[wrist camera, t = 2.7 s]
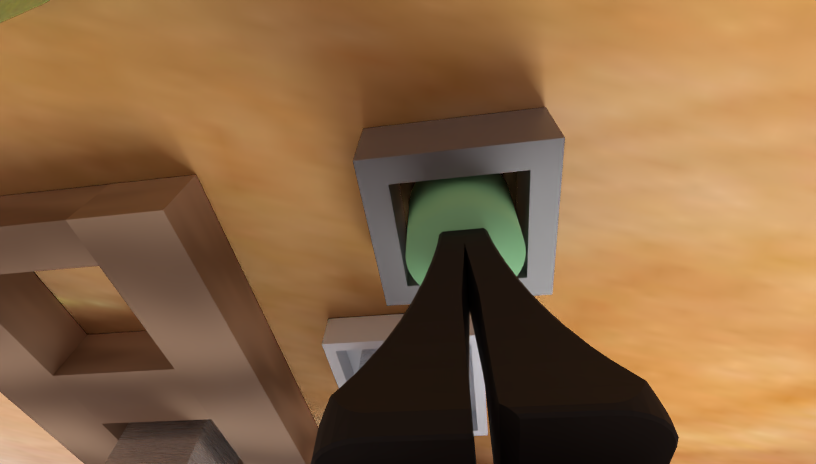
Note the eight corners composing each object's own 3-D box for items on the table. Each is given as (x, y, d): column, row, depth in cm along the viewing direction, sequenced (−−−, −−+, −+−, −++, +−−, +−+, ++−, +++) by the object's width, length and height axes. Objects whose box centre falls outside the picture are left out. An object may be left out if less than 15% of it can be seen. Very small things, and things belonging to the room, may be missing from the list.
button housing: (538, 252, 17) (552, 294, 15) (391, 264, 18) (386, 305, 16) (545, 107, 14) (565, 137, 12) (363, 128, 14) (352, 160, 12)
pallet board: (328, 450, 27) (321, 491, 25) (142, 456, 29) (121, 495, 27) (195, 174, 16) (162, 210, 14) (-106, 207, 17) (-174, 244, 15)
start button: (510, 239, 16) (524, 296, 14) (415, 247, 17) (413, 303, 14) (510, 153, 14) (527, 201, 12) (402, 164, 14) (397, 213, 12)
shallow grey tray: (484, 409, 24) (487, 435, 23) (362, 413, 25) (358, 439, 23) (478, 308, 19) (482, 334, 18) (328, 318, 20) (321, 344, 19)
